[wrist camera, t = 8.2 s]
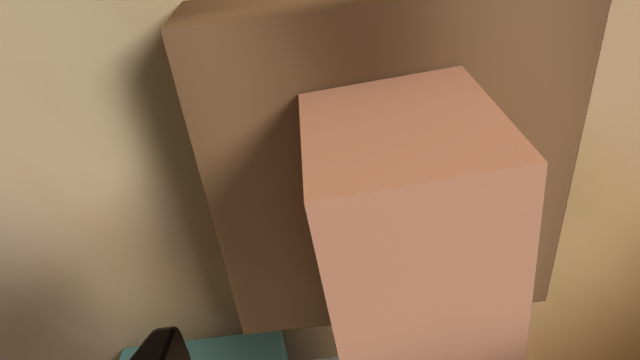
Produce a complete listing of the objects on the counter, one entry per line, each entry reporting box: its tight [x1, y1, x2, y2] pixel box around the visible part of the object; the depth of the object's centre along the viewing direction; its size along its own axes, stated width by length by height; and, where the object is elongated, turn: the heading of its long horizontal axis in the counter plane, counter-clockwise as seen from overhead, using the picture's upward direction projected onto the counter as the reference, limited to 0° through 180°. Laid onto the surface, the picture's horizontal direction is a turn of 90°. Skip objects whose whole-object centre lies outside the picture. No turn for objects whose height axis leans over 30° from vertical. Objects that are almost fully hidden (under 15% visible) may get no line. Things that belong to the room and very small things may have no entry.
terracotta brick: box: [298, 65, 548, 360], centre depth 10 cm, size 6×4×4 cm, turn 9°
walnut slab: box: [160, 0, 611, 335], centre depth 13 cm, size 9×9×3 cm
